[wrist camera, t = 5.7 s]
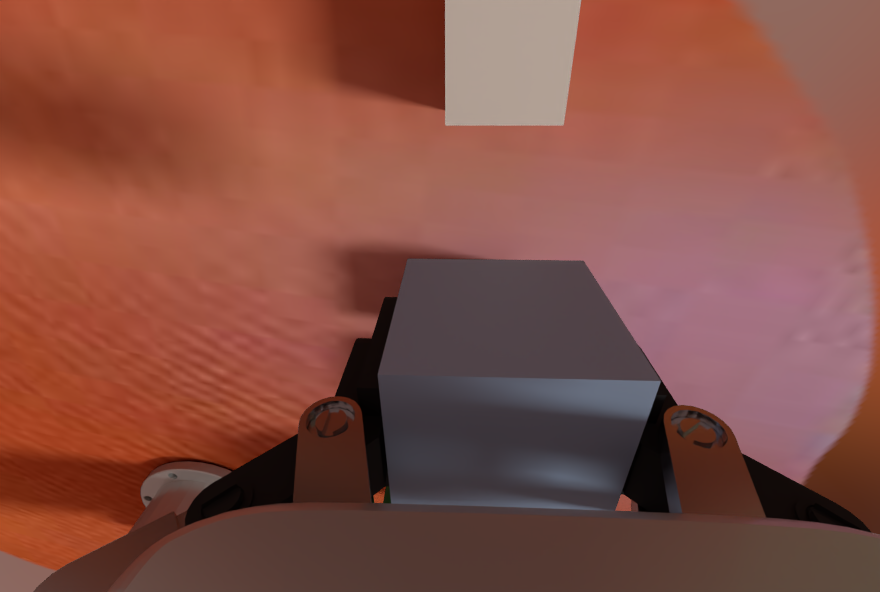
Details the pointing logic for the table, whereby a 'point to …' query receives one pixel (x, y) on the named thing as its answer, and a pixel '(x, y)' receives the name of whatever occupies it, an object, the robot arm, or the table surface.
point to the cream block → (508, 61)
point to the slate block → (510, 387)
